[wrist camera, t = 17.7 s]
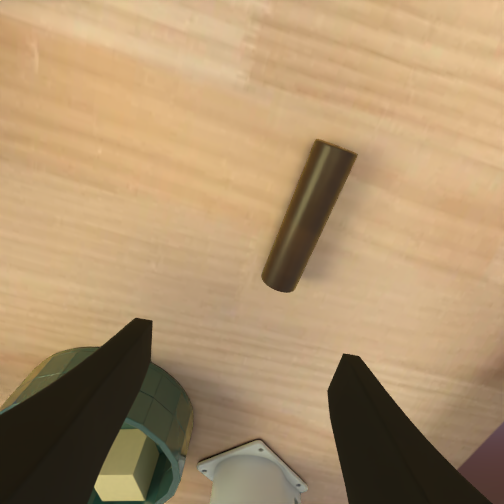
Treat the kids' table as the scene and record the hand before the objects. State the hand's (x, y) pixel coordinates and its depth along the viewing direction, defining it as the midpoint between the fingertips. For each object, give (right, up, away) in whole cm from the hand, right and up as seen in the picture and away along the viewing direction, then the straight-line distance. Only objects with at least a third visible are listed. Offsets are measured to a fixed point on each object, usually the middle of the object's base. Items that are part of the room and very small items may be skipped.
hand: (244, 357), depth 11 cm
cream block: (-11, -15, +18) cm, 26 cm away
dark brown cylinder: (+2, +2, +9) cm, 9 cm away
